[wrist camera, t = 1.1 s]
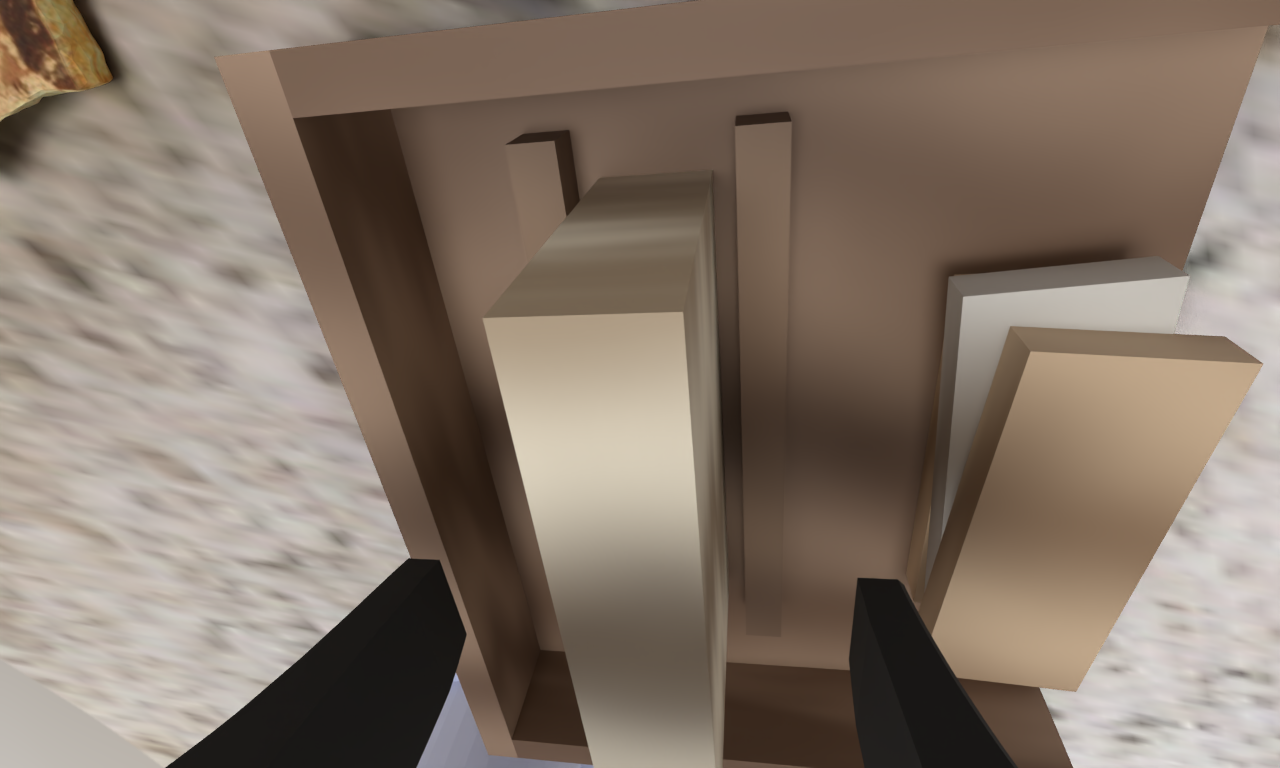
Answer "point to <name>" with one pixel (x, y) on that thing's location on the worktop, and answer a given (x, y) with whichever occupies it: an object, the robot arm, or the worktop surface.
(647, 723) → the birch sheet
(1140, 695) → the worktop surface
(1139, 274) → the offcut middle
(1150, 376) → the offcut top
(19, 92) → the shard
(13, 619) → the worktop surface
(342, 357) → the rack
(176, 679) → the worktop surface
